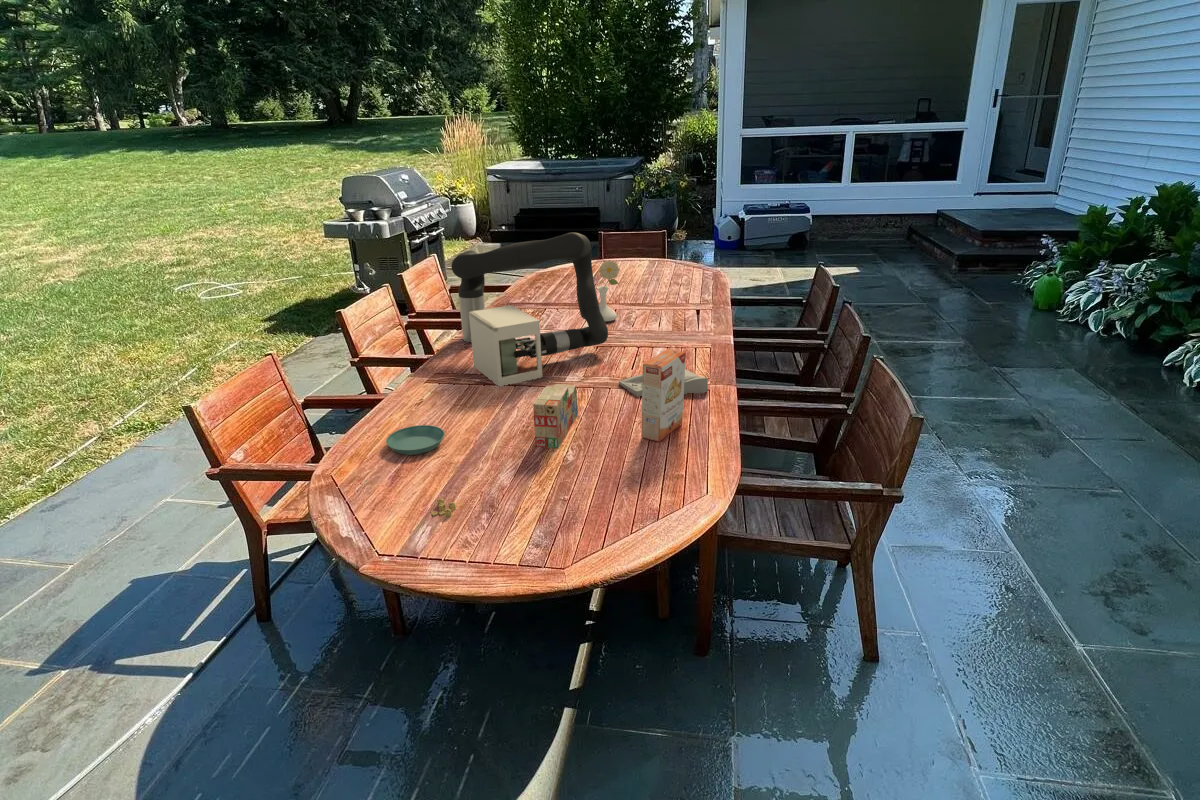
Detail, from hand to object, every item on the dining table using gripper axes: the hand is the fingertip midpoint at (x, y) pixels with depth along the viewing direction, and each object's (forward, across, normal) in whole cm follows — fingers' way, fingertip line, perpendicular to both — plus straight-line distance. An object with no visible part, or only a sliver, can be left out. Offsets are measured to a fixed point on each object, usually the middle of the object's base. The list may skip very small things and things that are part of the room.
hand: (509, 351), depth 221 cm
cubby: (+1, 0, +7) cm, 7 cm away
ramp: (-33, +40, +8) cm, 53 cm away
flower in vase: (-57, -35, +7) cm, 67 cm away
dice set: (+47, +73, +8) cm, 87 cm away
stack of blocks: (+8, +50, +7) cm, 51 cm away
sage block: (+1, 0, +7) cm, 7 cm away
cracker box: (-16, +65, +7) cm, 67 cm away
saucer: (+43, +38, +8) cm, 58 cm away
